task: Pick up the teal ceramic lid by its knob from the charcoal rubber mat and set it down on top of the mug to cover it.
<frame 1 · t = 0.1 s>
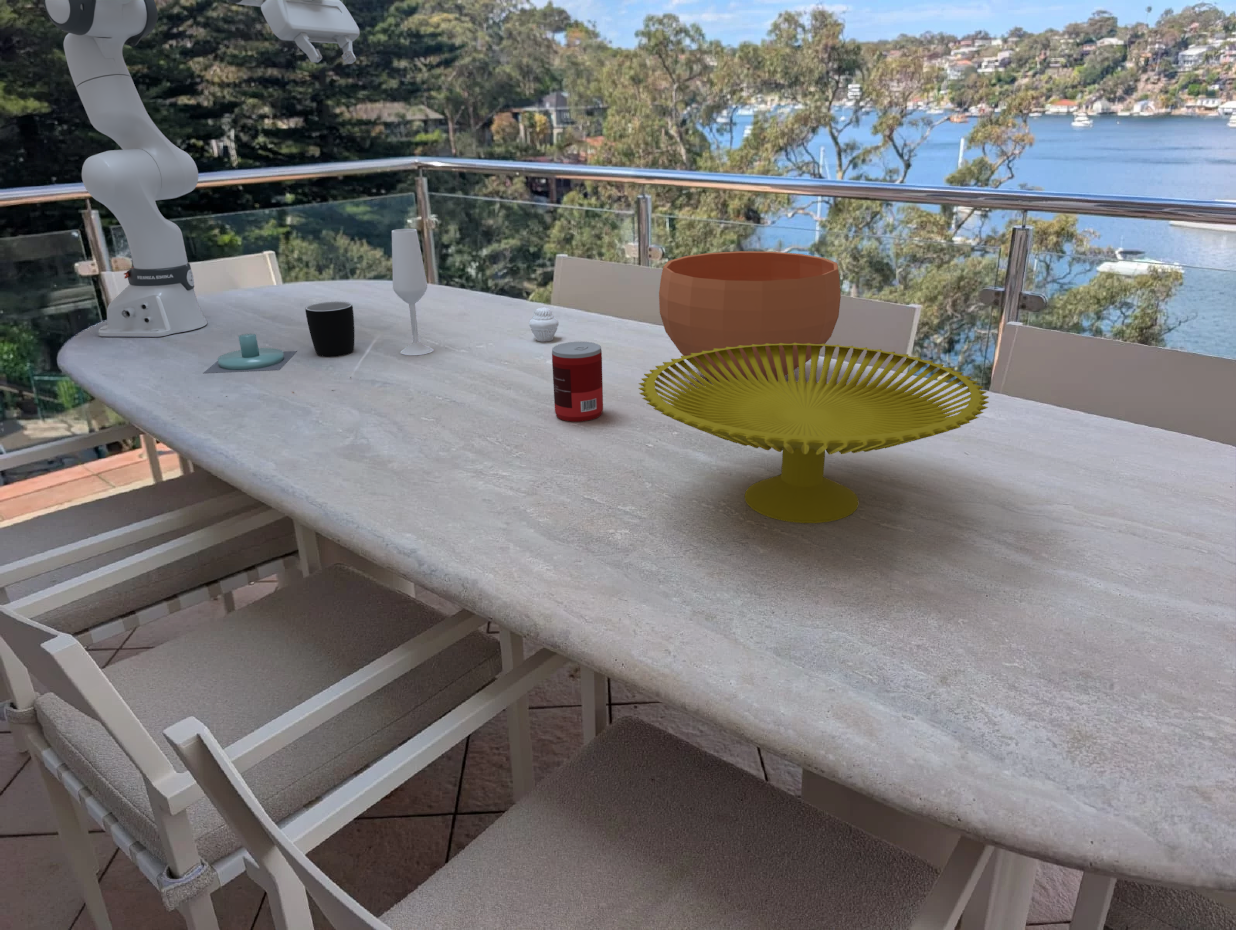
hand: (334, 61, 168), 54 cm above the table, tool tilted 30°, fingers open, 8 cm apart
mug: (332, 355, 184), on the table
white ridged rounded piece: (544, 340, 192), on the table
canned food: (579, 415, 146), on the table
lid: (251, 361, 177), point 1 cm above the table, touching mat
cake stand: (800, 500, 114), on the table
mat: (252, 365, 178), on the table
bowl: (746, 383, 160), on the table
champagne flute: (417, 352, 185), on the table
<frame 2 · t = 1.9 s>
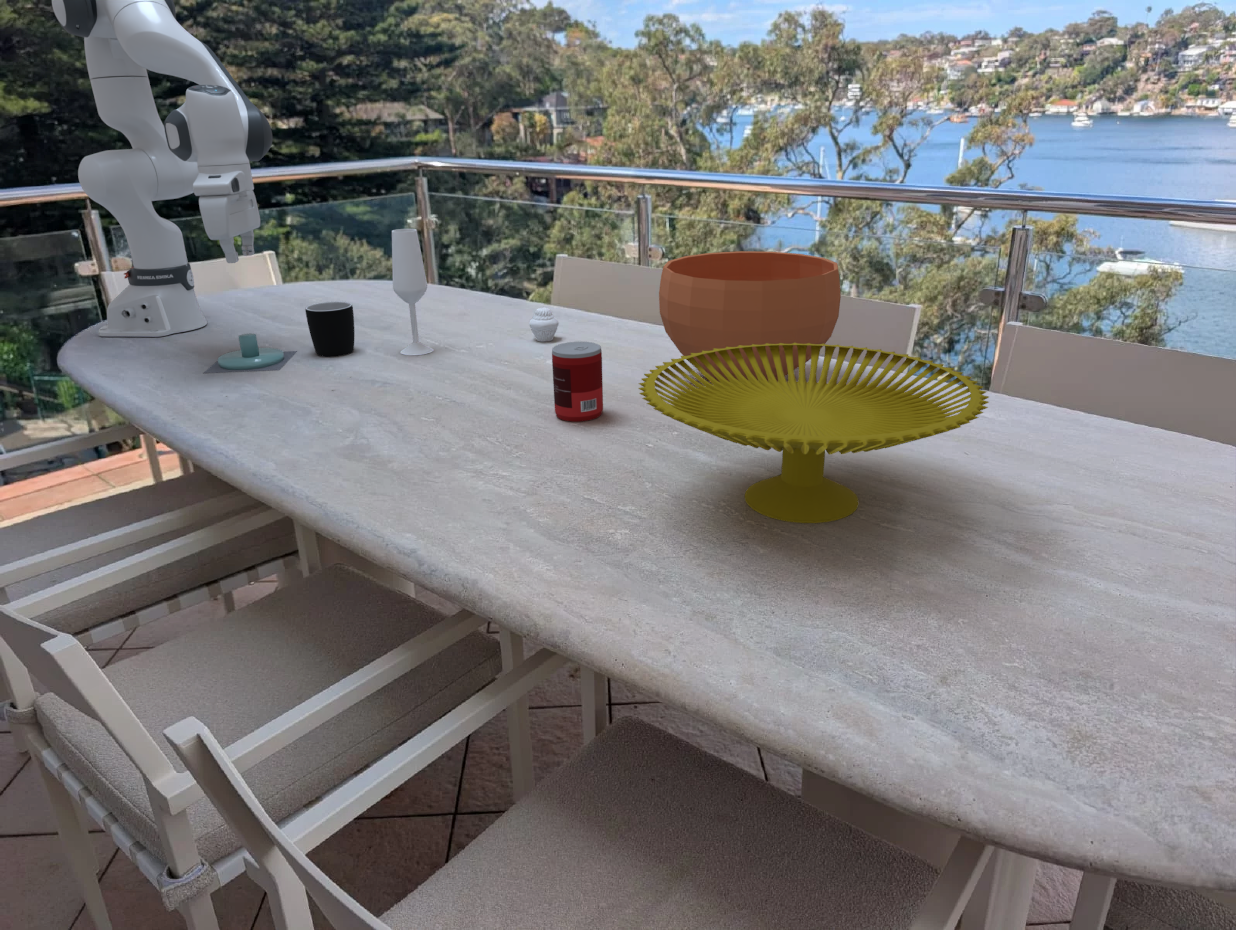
hand: (241, 258, 170), 21 cm above the table, tool pointing down, fingers open, 8 cm apart
nothing on the table moved.
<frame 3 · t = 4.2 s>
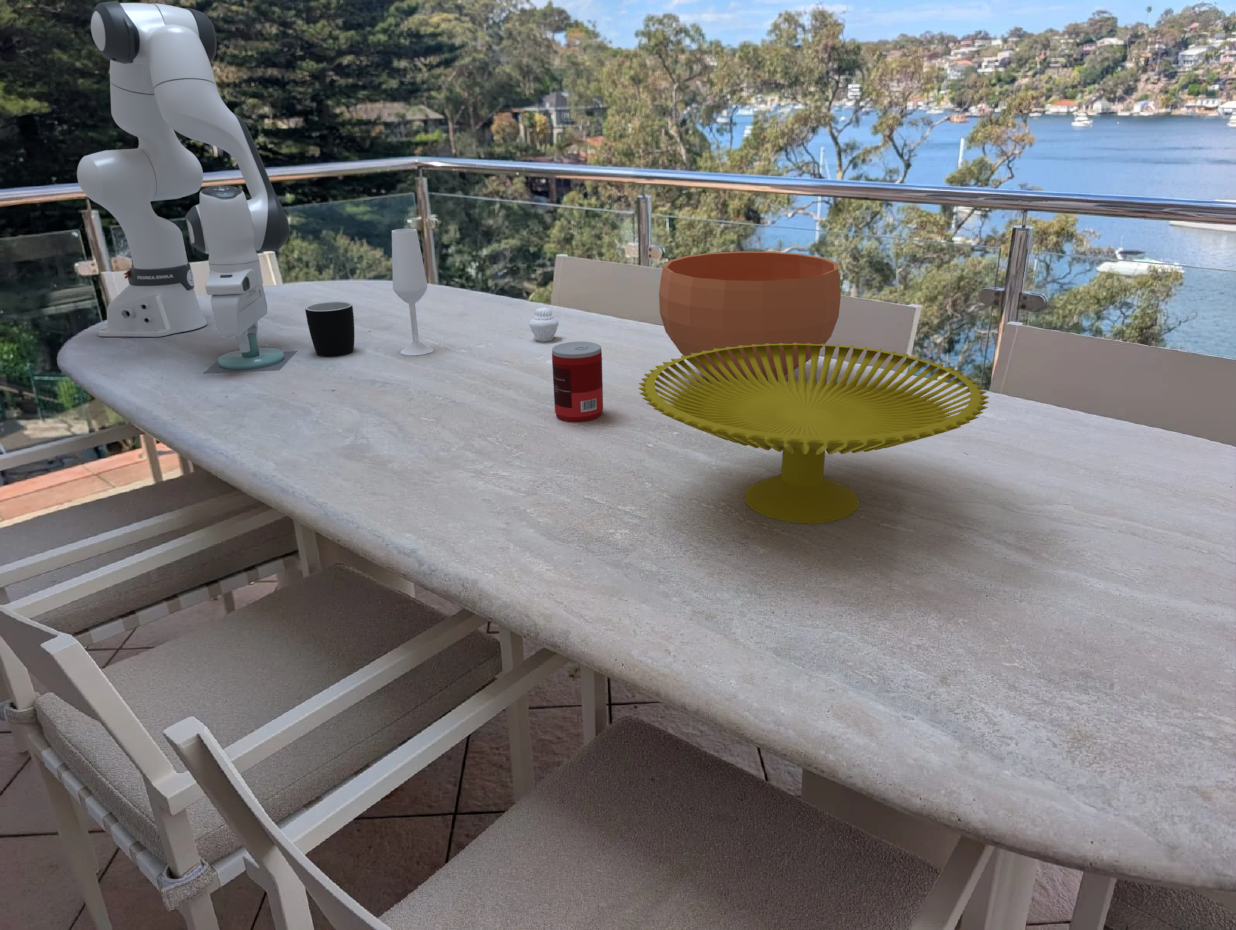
hand: (249, 348, 176), 3 cm above the table, tool pointing down, fingers closed on lid, 3 cm apart
lid: (251, 361, 177), point 1 cm above the table, touching gripper, mat
everything else where it was.
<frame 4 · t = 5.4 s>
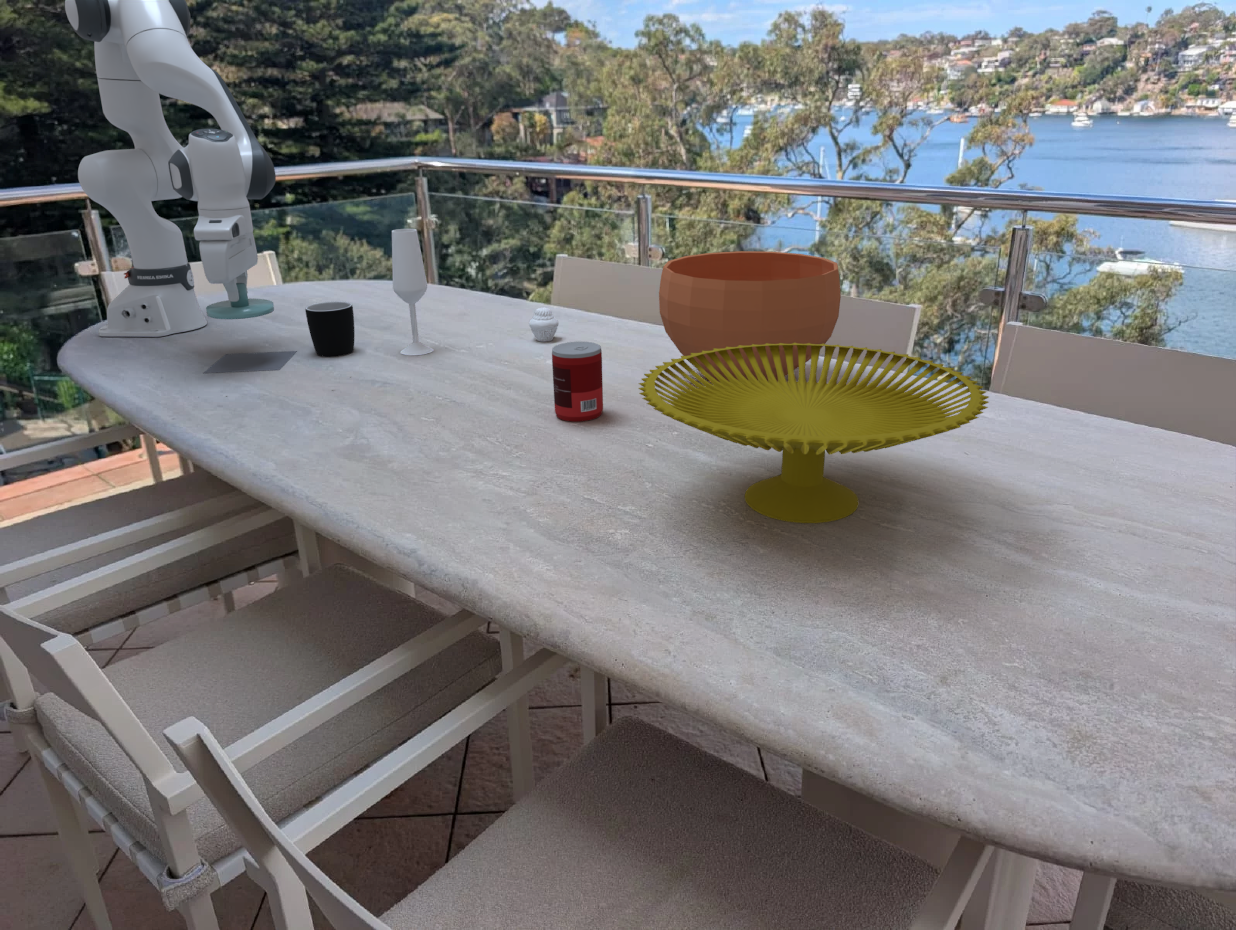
hand: (238, 298, 173), 13 cm above the table, tool pointing down, fingers closed on lid, 3 cm apart
lid: (241, 311, 174), point 11 cm above the table, touching gripper
everything else where it was.
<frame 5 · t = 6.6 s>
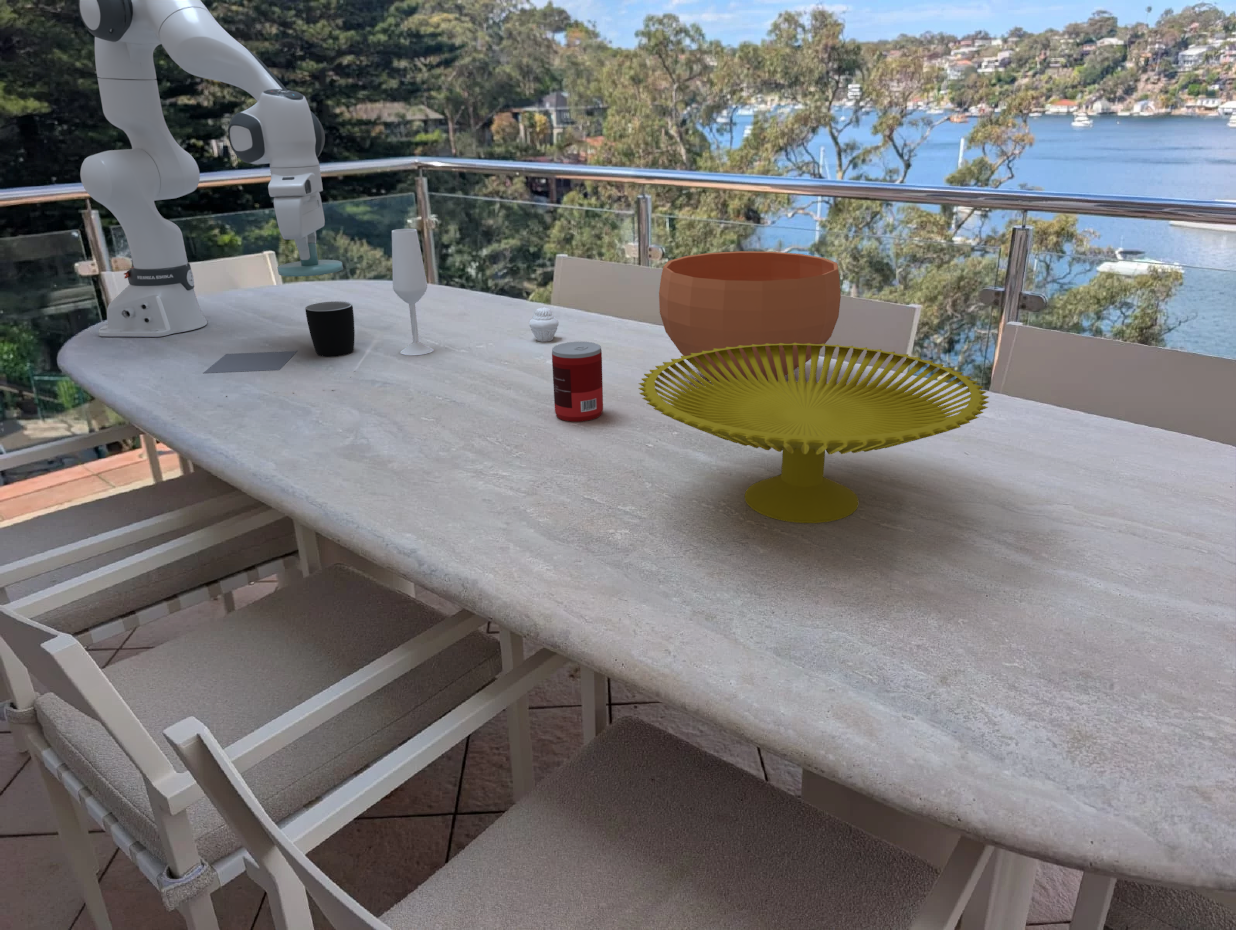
hand: (308, 257, 176), 20 cm above the table, tool pointing down, fingers closed on lid, 3 cm apart
lid: (310, 271, 177), point 17 cm above the table, touching gripper
everything else where it was.
when the fingers open (14 cm above the table, at t = 8.0 s): lid drops 1 cm, resting on mug.
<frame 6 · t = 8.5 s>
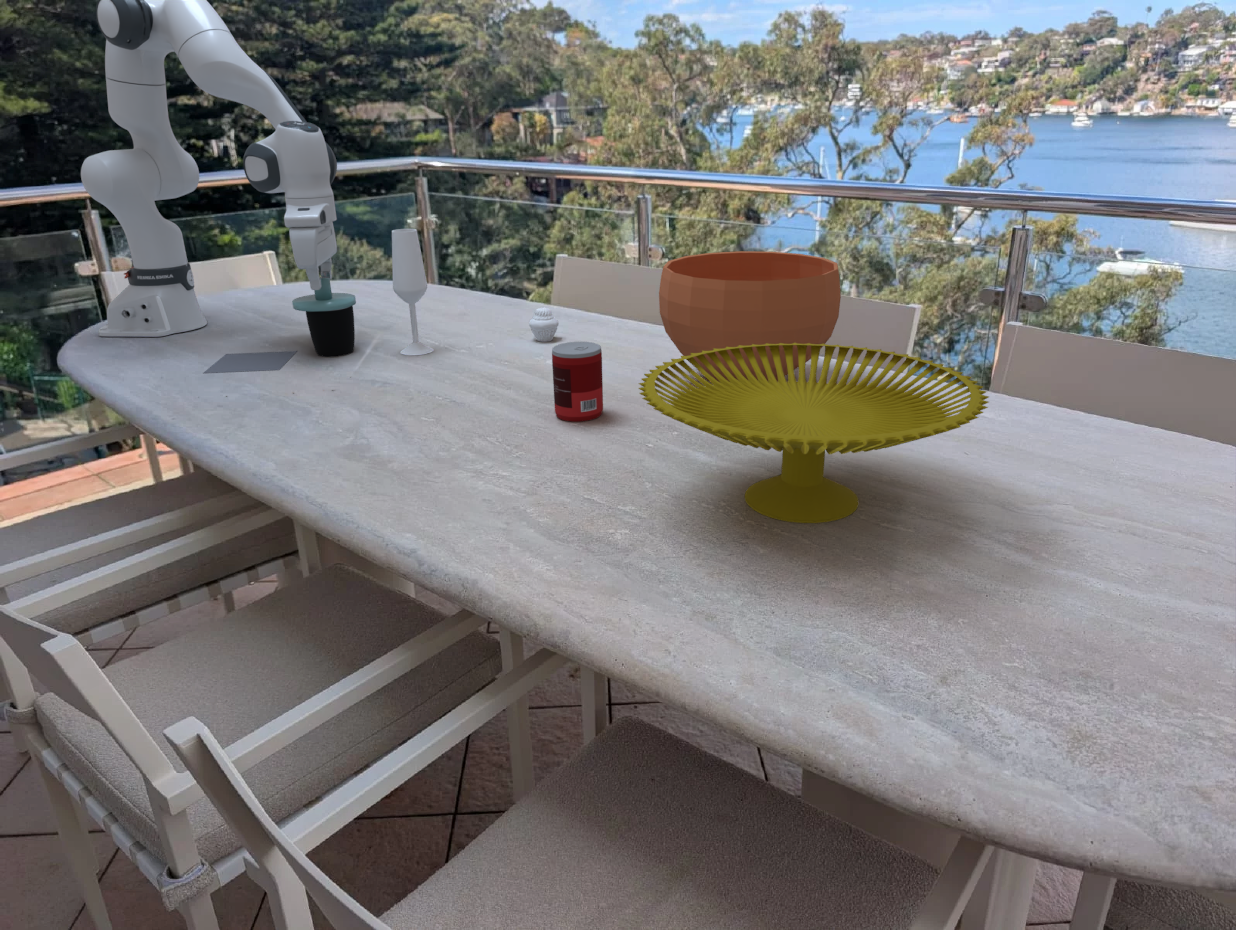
hand: (321, 284, 179), 14 cm above the table, tool pointing down, fingers open, 8 cm apart
mug: (332, 355, 184), on the table, touching lid
lid: (324, 304, 180), point 10 cm above the table, touching mug
everything else where it was.
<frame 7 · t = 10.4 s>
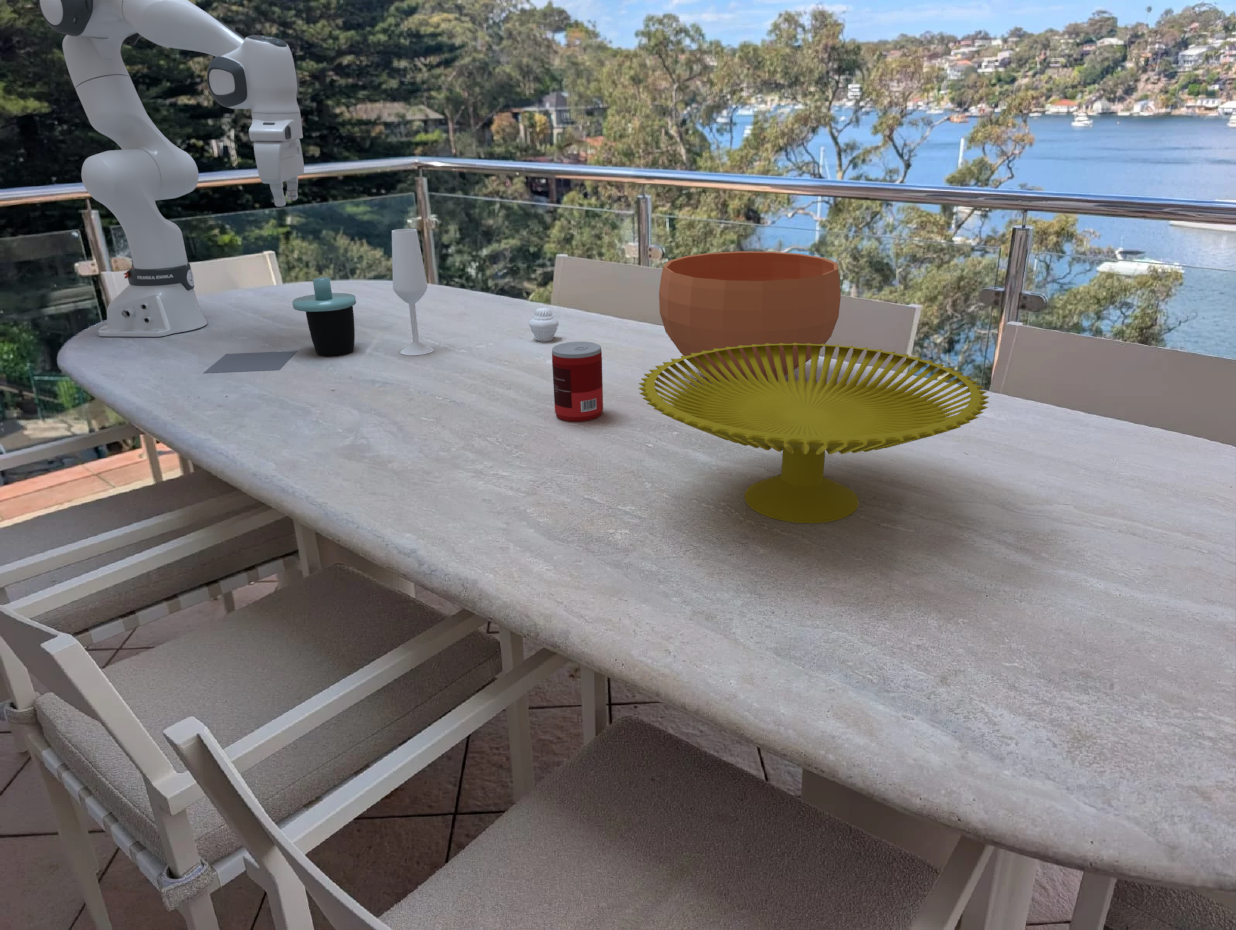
hand: (286, 203, 181), 29 cm above the table, tool pointing down, fingers open, 8 cm apart
nothing on the table moved.
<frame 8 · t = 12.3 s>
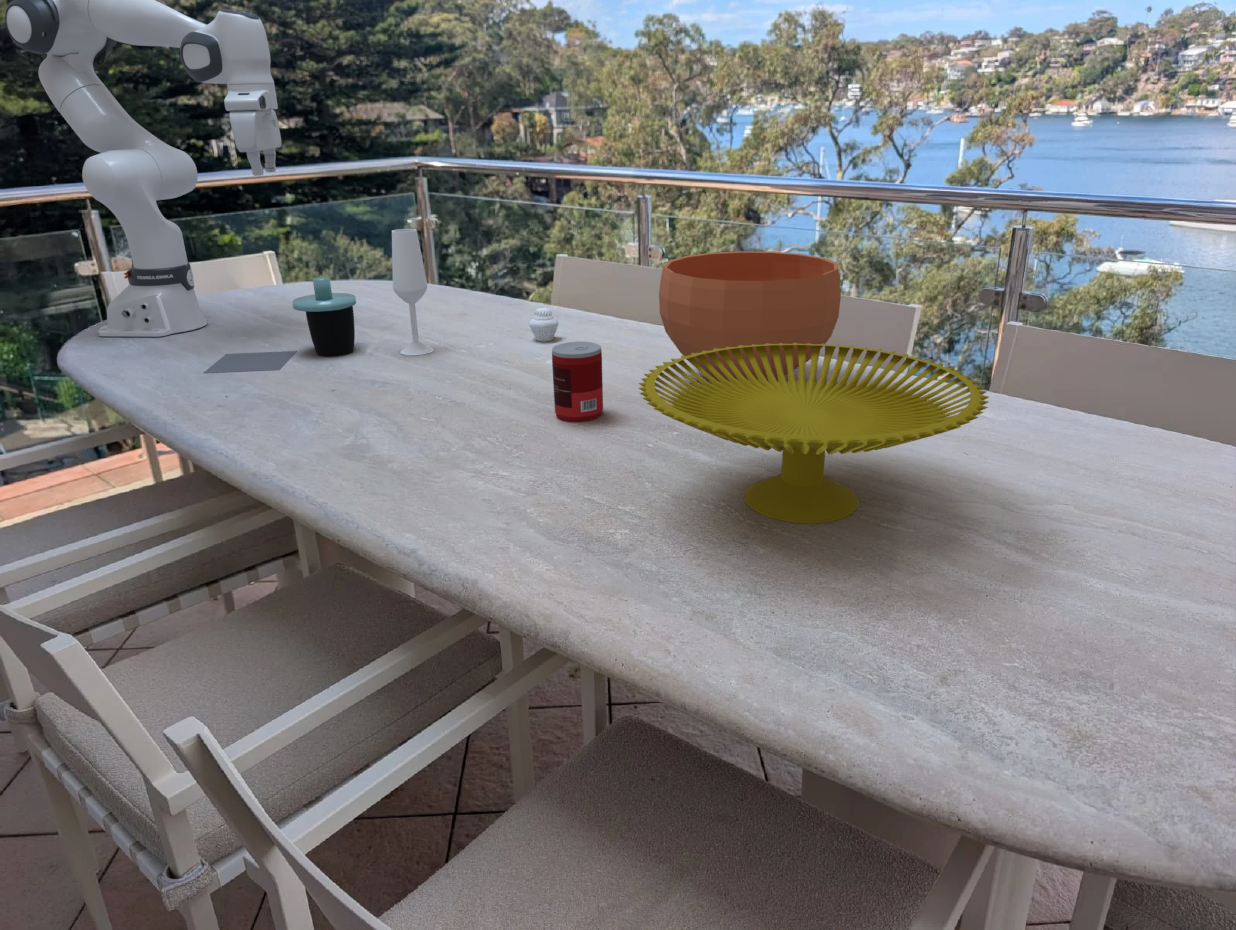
hand: (264, 173, 185), 34 cm above the table, tool pointing down, fingers open, 8 cm apart
nothing on the table moved.
at the end: lid 0.0 cm from the mug (horizontally); lid point 10.1 cm above the table; the gripper is holding nothing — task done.
